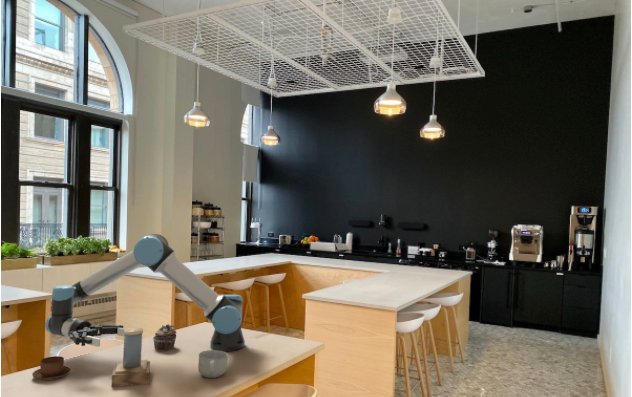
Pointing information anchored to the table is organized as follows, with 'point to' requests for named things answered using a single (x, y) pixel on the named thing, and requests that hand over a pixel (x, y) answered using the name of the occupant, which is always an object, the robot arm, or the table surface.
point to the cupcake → (165, 338)
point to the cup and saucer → (51, 368)
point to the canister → (132, 347)
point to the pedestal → (131, 374)
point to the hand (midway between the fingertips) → (115, 338)
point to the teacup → (212, 363)
